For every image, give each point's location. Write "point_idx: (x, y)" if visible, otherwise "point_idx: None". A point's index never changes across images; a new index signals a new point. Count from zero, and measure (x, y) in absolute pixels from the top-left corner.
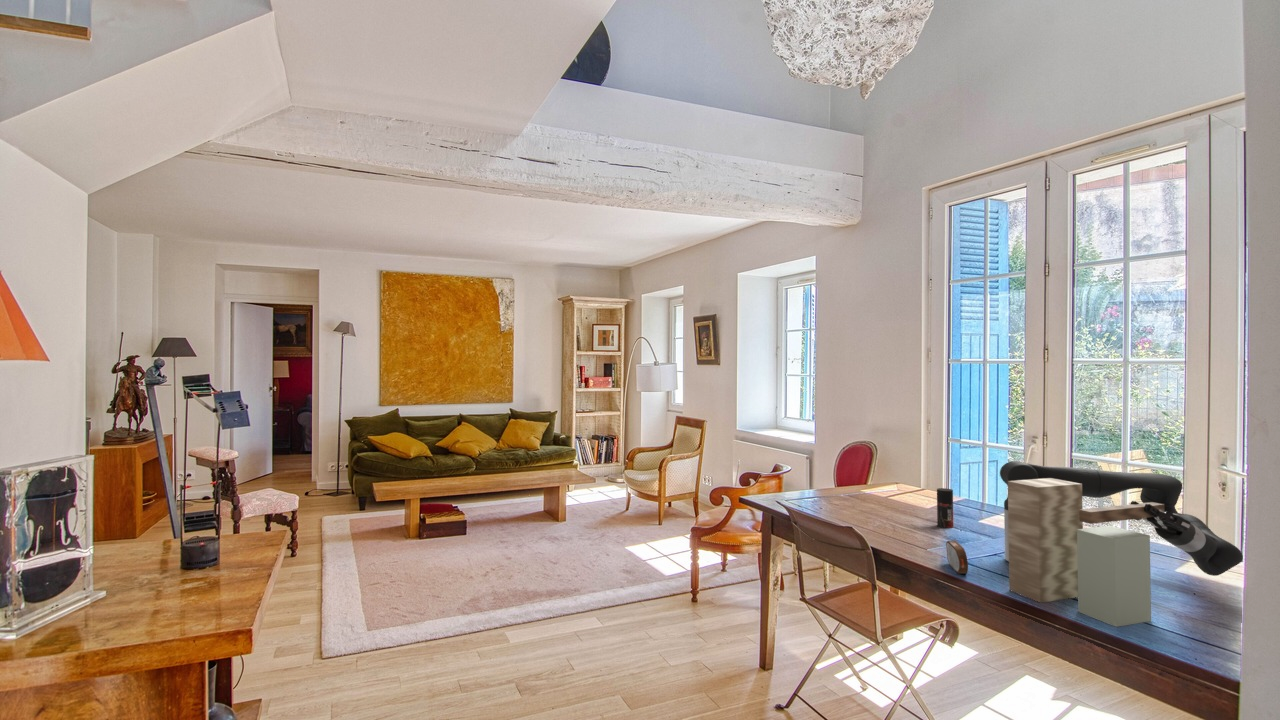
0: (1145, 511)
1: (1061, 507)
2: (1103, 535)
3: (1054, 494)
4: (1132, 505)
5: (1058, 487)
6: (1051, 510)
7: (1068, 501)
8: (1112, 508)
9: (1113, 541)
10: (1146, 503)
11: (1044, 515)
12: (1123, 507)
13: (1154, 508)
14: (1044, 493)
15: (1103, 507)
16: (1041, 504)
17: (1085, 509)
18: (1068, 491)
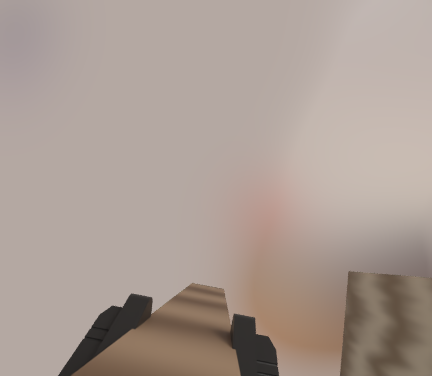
0: None
1: (391, 370)
2: None
3: (377, 305)
4: (203, 318)
5: (388, 281)
6: (365, 362)
7: (415, 357)
8: (197, 294)
9: None
10: (150, 297)
11: (351, 369)
12: (191, 301)
13: (92, 329)
14: (357, 293)
15: (221, 297)
16: (348, 326)
17: (219, 289)
18: (419, 308)
